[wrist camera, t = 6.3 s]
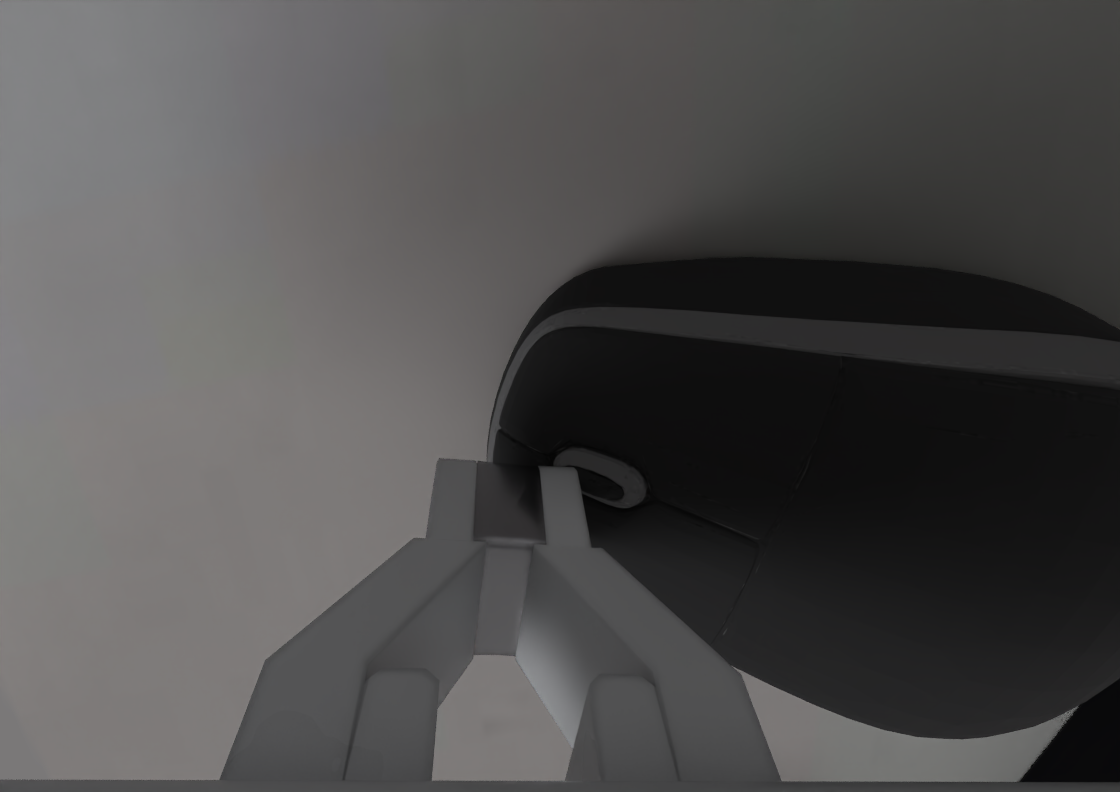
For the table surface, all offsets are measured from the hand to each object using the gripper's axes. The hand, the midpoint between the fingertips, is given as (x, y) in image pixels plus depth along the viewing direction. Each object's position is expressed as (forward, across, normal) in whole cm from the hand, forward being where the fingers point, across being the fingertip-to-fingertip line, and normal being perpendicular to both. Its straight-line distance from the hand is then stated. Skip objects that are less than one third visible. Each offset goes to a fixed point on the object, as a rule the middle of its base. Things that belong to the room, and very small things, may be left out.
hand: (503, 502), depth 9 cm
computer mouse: (+2, -6, 0) cm, 6 cm away
